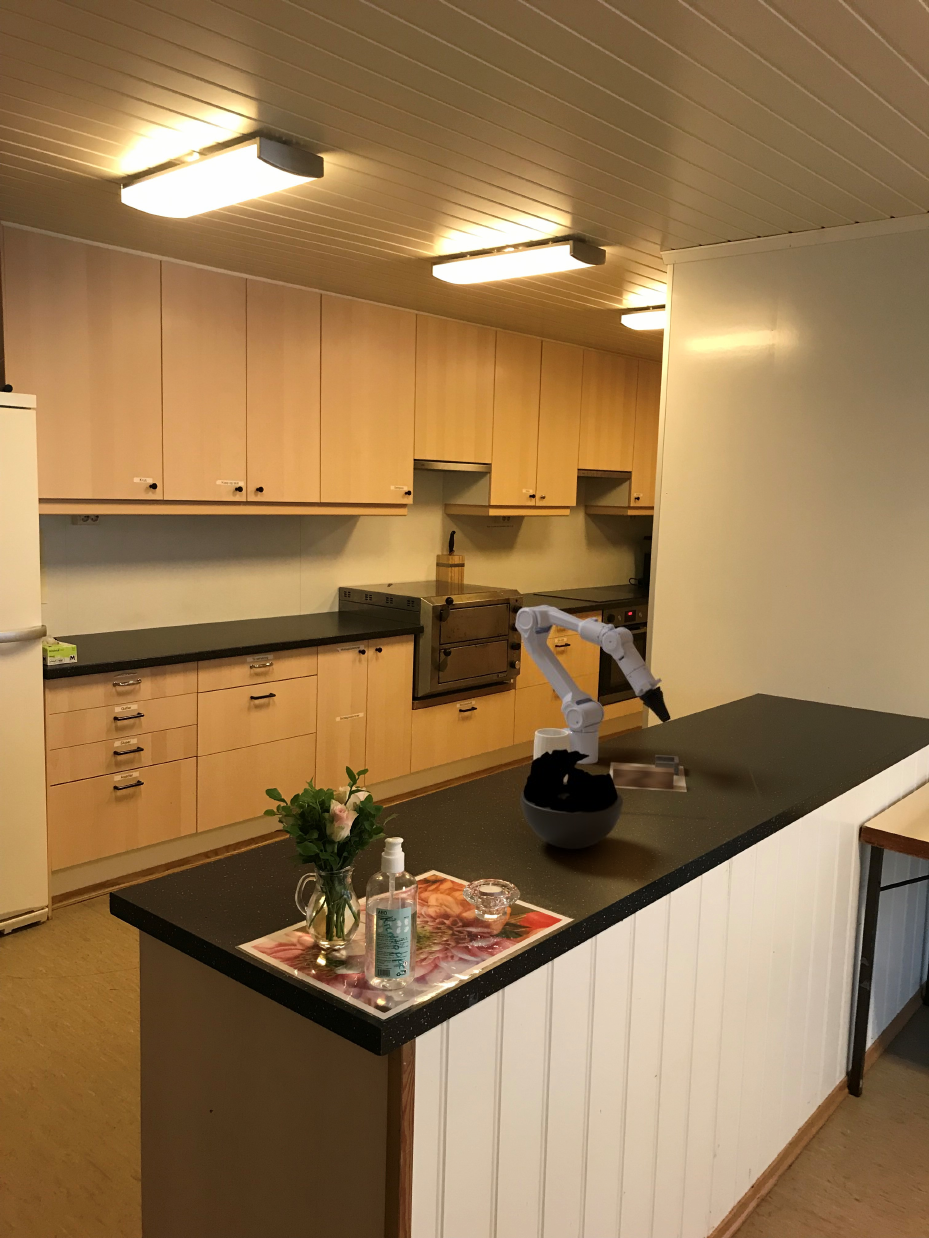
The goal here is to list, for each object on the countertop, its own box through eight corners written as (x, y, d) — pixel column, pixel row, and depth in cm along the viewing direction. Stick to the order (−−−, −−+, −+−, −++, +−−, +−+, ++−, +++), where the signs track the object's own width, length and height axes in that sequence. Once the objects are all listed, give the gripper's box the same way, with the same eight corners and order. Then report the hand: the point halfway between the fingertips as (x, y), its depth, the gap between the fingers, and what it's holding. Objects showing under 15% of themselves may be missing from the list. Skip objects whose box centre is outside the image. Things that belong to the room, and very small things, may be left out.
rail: (612, 785, 231) (612, 768, 231) (612, 781, 235) (613, 764, 234) (673, 789, 229) (673, 772, 228) (672, 784, 232) (673, 768, 232)
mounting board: (607, 789, 230) (608, 786, 230) (610, 765, 251) (610, 762, 251) (686, 794, 227) (686, 791, 227) (683, 769, 248) (683, 766, 248)
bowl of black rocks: (556, 821, 208) (558, 735, 206) (640, 843, 196) (643, 751, 193) (499, 847, 193) (500, 754, 190) (586, 873, 180) (588, 774, 178)
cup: (567, 798, 224) (568, 737, 222) (530, 795, 225) (531, 735, 224) (570, 787, 232) (572, 728, 230) (535, 785, 234) (536, 726, 232)
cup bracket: (655, 774, 241) (655, 762, 240) (654, 766, 247) (655, 754, 247) (678, 775, 240) (679, 763, 239) (677, 767, 246) (678, 756, 246)
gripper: (648, 658, 233) (679, 707, 229) (652, 667, 247) (682, 714, 242) (622, 673, 234) (653, 722, 230) (628, 682, 247) (657, 728, 243)
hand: (666, 719), depth 236 cm, fingers open, 7 cm apart
